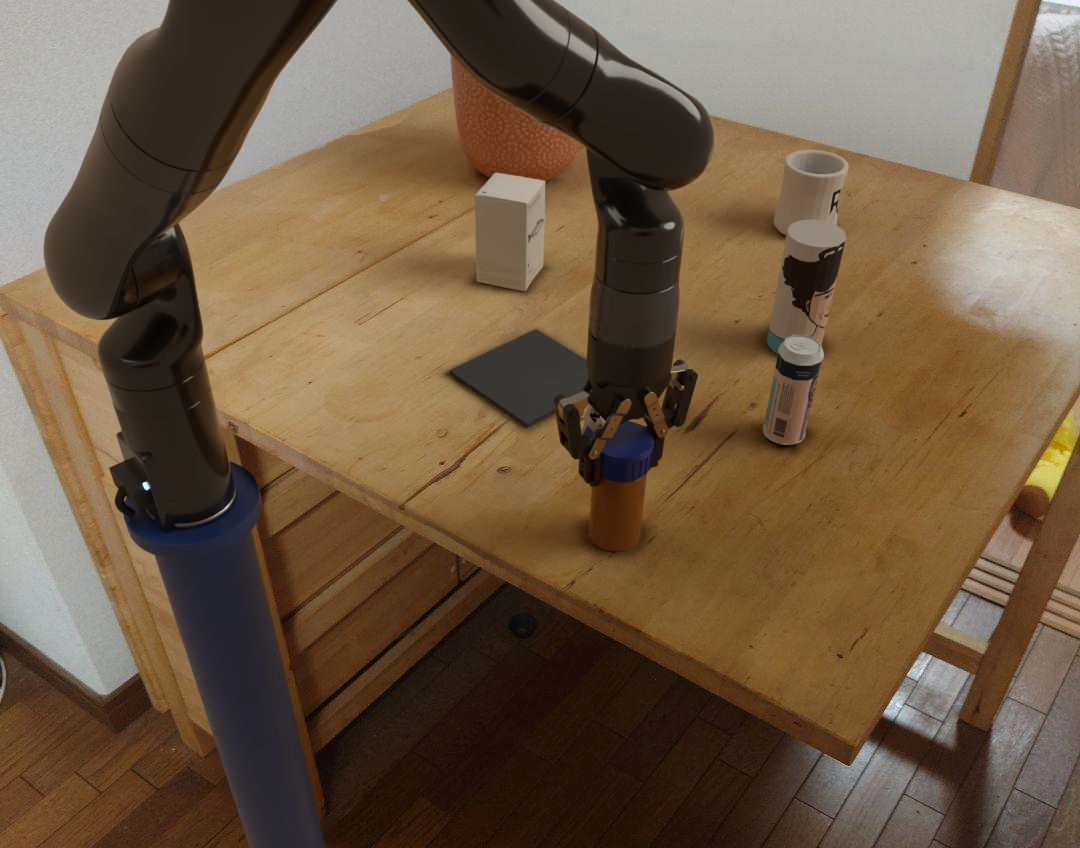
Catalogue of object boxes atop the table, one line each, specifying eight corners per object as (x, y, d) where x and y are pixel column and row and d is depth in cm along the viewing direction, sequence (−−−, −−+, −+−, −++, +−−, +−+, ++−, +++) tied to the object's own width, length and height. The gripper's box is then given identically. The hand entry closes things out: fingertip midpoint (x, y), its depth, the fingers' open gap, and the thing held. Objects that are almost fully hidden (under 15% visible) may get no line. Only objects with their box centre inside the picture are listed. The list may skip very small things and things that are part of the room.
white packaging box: (526, 293, 142) (526, 203, 133) (474, 282, 144) (472, 193, 135) (545, 267, 147) (547, 179, 138) (495, 257, 149) (494, 170, 140)
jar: (614, 559, 105) (622, 469, 97) (578, 532, 108) (583, 442, 100) (650, 535, 108) (661, 446, 100) (614, 510, 111) (622, 421, 103)
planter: (428, 175, 167) (420, 49, 154) (506, 131, 180) (505, 11, 167) (536, 211, 159) (538, 81, 146) (610, 163, 171) (618, 39, 158)
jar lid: (663, 471, 101) (666, 448, 99) (609, 489, 99) (611, 465, 97) (631, 436, 104) (633, 413, 103) (578, 453, 102) (579, 429, 101)
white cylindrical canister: (806, 364, 131) (831, 253, 120) (757, 346, 134) (777, 235, 123) (829, 340, 135) (855, 230, 124) (781, 323, 138) (802, 214, 127)
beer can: (812, 444, 119) (834, 353, 111) (773, 451, 118) (792, 360, 110) (792, 419, 123) (812, 329, 114) (754, 426, 121) (772, 335, 113)
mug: (830, 247, 152) (845, 180, 145) (767, 237, 154) (779, 170, 147) (841, 210, 161) (856, 145, 154) (781, 200, 163) (793, 136, 156)
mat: (526, 428, 121) (526, 423, 120) (449, 374, 128) (449, 370, 128) (614, 381, 128) (614, 376, 127) (536, 332, 135) (536, 328, 135)
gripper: (680, 281, 96) (662, 430, 107) (537, 318, 91) (535, 470, 102) (727, 321, 91) (704, 473, 102) (579, 363, 86) (572, 517, 98)
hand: (619, 471), depth 102 cm, fingers closed on jar lid, 5 cm apart
